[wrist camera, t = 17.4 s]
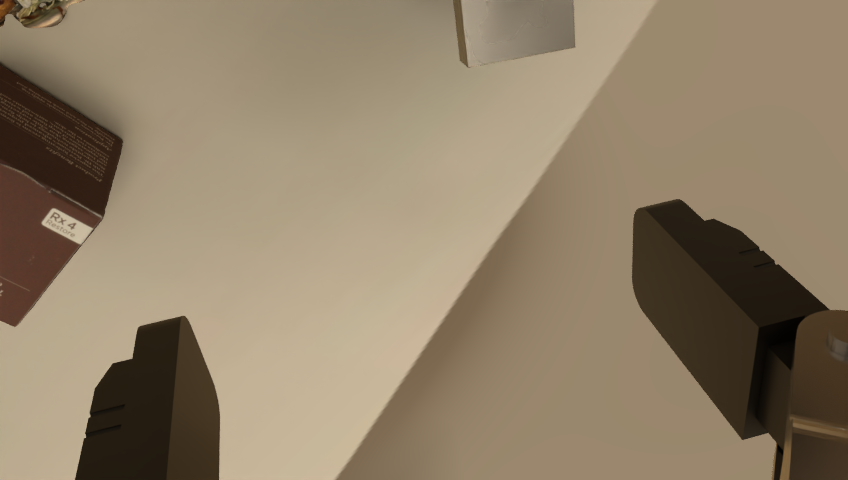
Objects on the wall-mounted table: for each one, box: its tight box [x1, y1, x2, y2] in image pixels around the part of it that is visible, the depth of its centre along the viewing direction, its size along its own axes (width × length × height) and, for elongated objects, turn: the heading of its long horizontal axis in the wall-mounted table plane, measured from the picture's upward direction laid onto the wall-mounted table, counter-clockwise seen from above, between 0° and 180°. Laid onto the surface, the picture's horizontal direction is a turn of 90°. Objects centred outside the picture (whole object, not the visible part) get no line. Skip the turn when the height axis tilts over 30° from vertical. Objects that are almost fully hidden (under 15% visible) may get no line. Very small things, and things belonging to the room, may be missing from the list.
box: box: [0, 65, 123, 327], centre depth 29 cm, size 6×6×7 cm
